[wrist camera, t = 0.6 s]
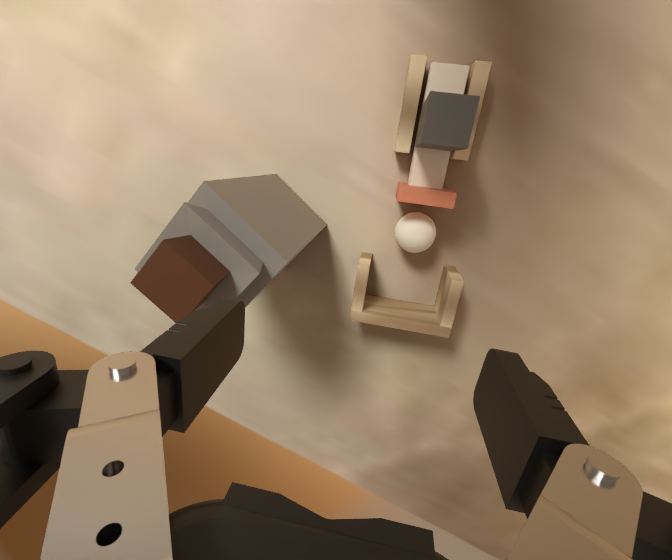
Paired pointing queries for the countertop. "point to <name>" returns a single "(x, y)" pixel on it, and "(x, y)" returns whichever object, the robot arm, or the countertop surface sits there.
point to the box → (407, 304)
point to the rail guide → (412, 93)
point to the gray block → (439, 135)
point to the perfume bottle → (226, 244)
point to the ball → (415, 232)
